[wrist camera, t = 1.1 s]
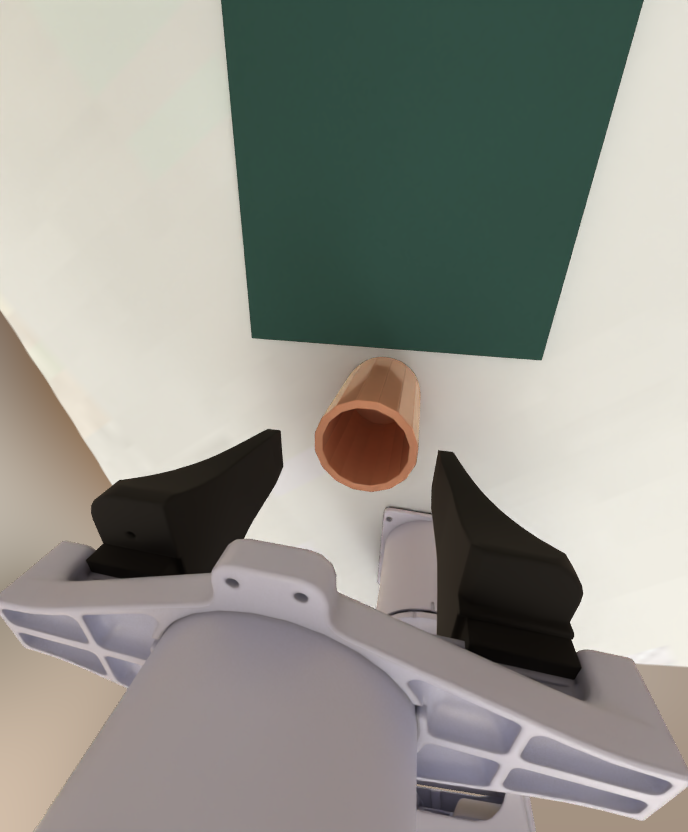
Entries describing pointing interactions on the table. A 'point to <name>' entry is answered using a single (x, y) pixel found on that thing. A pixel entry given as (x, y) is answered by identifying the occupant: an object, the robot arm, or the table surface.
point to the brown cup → (372, 427)
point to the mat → (417, 164)
